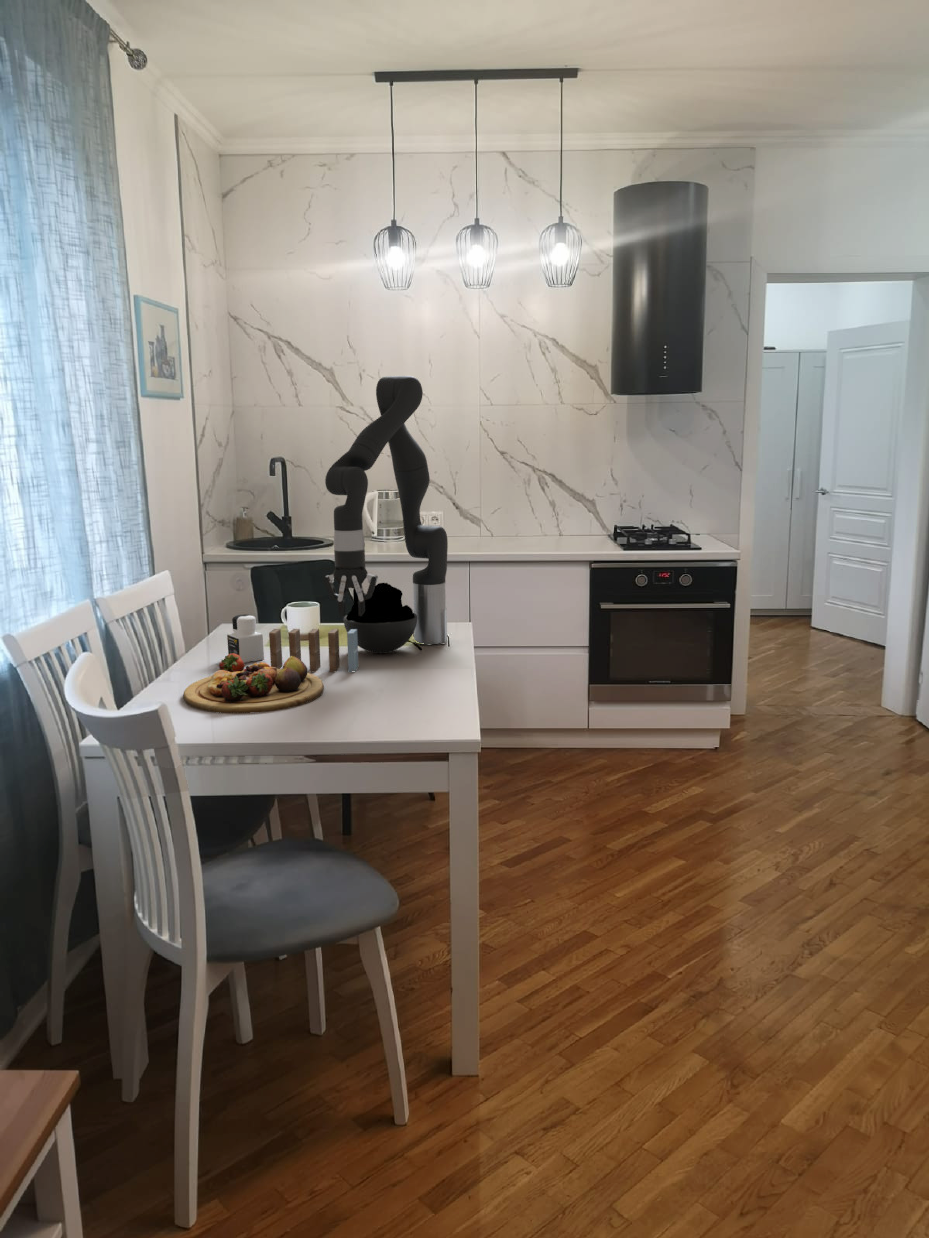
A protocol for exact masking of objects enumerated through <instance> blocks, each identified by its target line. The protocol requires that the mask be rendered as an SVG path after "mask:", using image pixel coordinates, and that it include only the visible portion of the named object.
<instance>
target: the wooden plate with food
mask: <svg viewBox="0 0 929 1238" xmlns="http://www.w3.org/2000/svg"><path fill="white" fill-rule="evenodd" d="M218 666H219V670H217V671H215V672H213V674H211V676H210V675H209V676H206V677H204V678H200V679H198V680H196V681H195V682H193V683H191V684H190V685H188V686H187V687H186V688H185V689H184V690H183V695H182V697H183V700H184V702H185V703H186V704H187V705H188V706H190V708H193V709H195V708H196V709H195V710H199V711H203V712H209V713H210V712H211V713H216V712H219V713H218V714H251V713H250V712H259V713H266V712H267V713H269V712H275V711H281V710H287V709H291V708H295V707H299V706H303V705H306V704H308V703H311V702H312V701H315V700H316V699H318V698H319V697H320V696H321V695H322V694H323V693H324V690H325V685H324V684H325V683H324V682H323V680H322V679H320V678H319V676H317V675H314V674H313V673H309V671H308V667H307V665H306V664H305V663H304V662H303V660H302V659H301V660H300V659H298V658H296V657H294V656H291V657H290V656H289V657H288V658H287V659H286V661H284V664H282V666H283V667H282V668H281V669H277V668H276V667H271V665H270V664H268V663H267V662H263V661H260V662H259V663H257V662H254V663H253V664H252V665H249V666H248V665H246V667H245V663H244V662H243V661H242V659H241V657H240V656H239V655H237V654H235V653H232V654H229V655H228V654H227V655H225V656H224V659H221V661H220V663H219V665H218ZM220 712H221V713H220Z"/></svg>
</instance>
